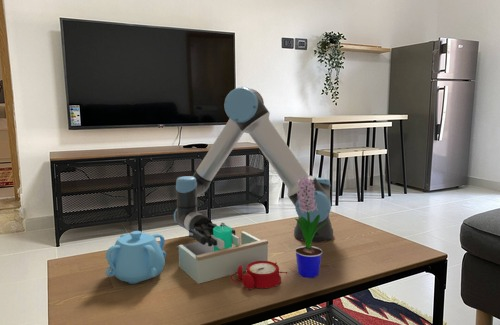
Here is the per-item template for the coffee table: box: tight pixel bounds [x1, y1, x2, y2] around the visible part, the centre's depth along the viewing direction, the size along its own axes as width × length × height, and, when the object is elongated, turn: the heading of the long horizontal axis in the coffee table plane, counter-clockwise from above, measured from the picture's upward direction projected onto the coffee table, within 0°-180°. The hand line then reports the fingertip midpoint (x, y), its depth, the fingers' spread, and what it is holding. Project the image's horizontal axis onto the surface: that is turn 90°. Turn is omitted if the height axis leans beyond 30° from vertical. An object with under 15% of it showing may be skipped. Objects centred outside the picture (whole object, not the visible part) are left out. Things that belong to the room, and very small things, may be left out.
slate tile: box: [176, 241, 214, 256], centre depth 133 cm, size 14×14×1 cm
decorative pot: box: [105, 230, 167, 285], centre depth 113 cm, size 16×16×14 cm
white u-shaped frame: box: [178, 231, 269, 285], centre depth 120 cm, size 24×14×8 cm, turn 123°
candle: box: [212, 224, 233, 251], centre depth 119 cm, size 6×6×12 cm
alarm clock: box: [230, 260, 288, 290], centre depth 109 cm, size 11×6×15 cm
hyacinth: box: [294, 176, 328, 279], centre depth 112 cm, size 9×10×30 cm
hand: (231, 244), depth 115 cm, fingers closed on candle, 5 cm apart
